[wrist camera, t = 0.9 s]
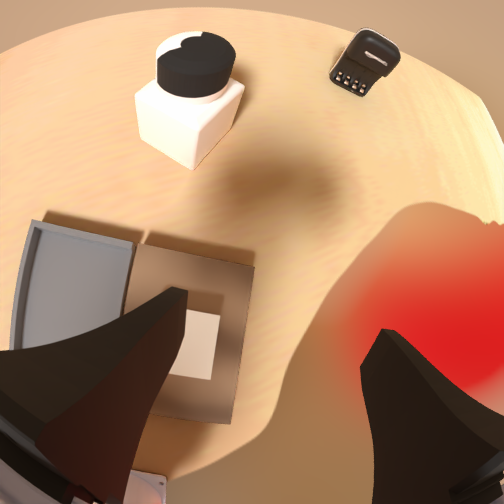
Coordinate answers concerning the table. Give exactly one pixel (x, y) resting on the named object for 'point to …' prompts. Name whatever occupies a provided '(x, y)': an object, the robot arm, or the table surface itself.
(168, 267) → the board
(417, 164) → the table surface
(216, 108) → the medicine bottle
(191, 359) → the tile
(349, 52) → the battery charger
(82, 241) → the tray
